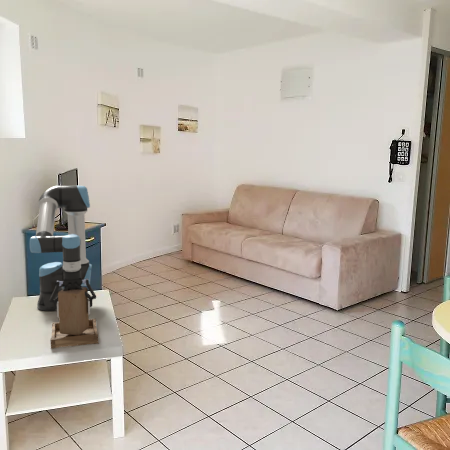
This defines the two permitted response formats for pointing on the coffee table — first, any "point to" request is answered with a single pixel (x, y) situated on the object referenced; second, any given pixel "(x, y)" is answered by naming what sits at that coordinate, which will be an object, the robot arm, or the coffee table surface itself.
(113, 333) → the coffee table surface
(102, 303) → the coffee table surface
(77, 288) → the robot arm
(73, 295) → the wooden block
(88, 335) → the crate
